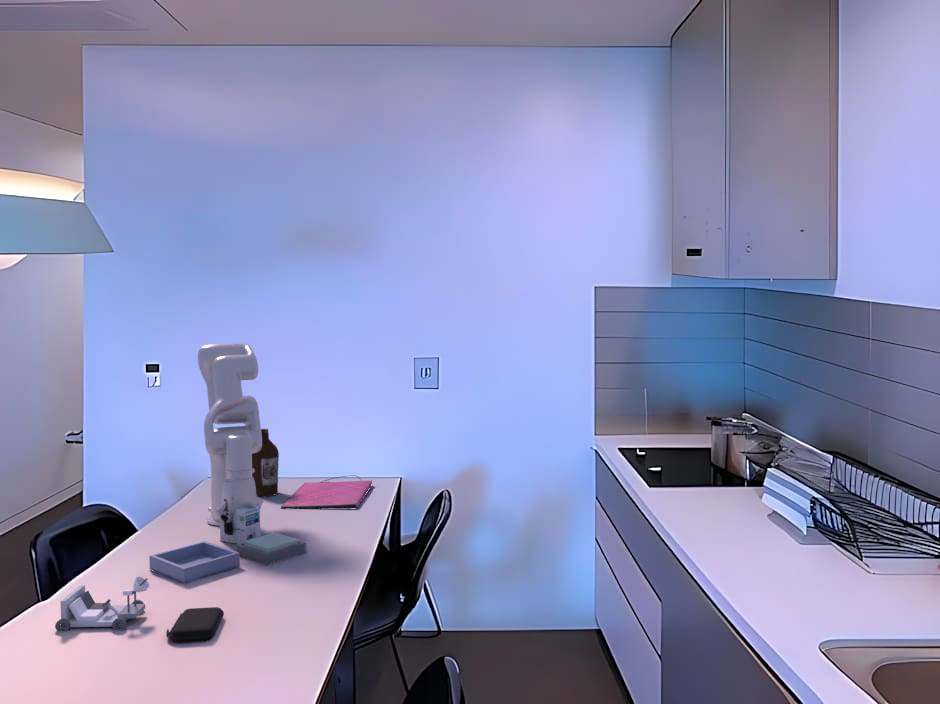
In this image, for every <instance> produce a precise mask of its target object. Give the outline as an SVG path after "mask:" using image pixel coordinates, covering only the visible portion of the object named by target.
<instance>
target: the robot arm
mask: <svg viewBox="0 0 940 704" xmlns="http://www.w3.org/2000/svg"><path fill="white" fill-rule="evenodd" d="M197 362H198V367H199V370H200V374H201V376H202V378H203V380H204V382H205V385H206V390H207V402H208V410H209V411H208V412H207V414H206V416H205V418H204V423H203V434H204V443H205V444H204V446H205V449H206V452H207V453H208V455H209V461H210V486H211V488H210V489H211V506H209V507H208V508H207V511H208V512H210V516H208V517H207V518H206V523H207V524H208V525H211V526H217V527H218V526H219V527H220V519H222V521H224V532H225V534H227V535H232V534H233V525H232V522H231V519H232V517H233V515H234V514H235V513H236V509H240V508H244V507H249V506H260V509H261V507H262V505H263V504H264V500H263V499H262V498H261V497H258V496H256V487H255V481H254V478H253V477H252V473H254V472H255V469H254V468H252V454H253V453H257V452H259V451H260V450H261V447H262V434H261V429H262V428H261V427H262V426H261V418H260V410H259V405H258V402H257V399H256V398H255V397H254V396H253V395H246V394H244V393H243V387H242V381H253V380H256V379H257V378H258V376H259V364H258V363H259V362H258V359H257V356H256V355H255V351H253V348H252V347H251V346H250V345H249V344H248V343H211V344H206V345H203V346H201V347H200V348H199V349H198V353H197ZM243 394H244V395H243ZM233 424H234V426H225V427H223V426H222V427H217V428H214V425H233ZM237 424H238V425H239V424H242V425H239V426H238V425H237ZM235 425H236V426H235ZM225 508H227V509H226V512H225V510H224V509H225ZM228 509H229V511H228ZM222 511H223V512H225V514H223V512H222ZM228 514H229V516H228Z"/></svg>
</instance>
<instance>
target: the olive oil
mask: <svg viewBox="0 0 940 704" xmlns="http://www.w3.org/2000/svg"><path fill="white" fill-rule="evenodd" d="M269 433H270V432H269V429H268V428H261V434H262V447H261V450H260V451H259V452H257V453H253V454H252V468H254V469H255V472H254V473H252V477H253V478H254V481H255V487H256V496H257V497H259V498H262V497H264V496H266V497H271V496H270V495H273V496H275V495H274V494H276V495H278V493H279V490H278V489H279V486H278V483H279V457H280V456H279V455H280V454H279V450H278V447H277V446H276V444H274V443H273V442H272V441H271V440H270V437H269V435H270V434H269ZM264 498H265V497H264Z"/></svg>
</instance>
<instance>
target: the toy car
mask: <svg viewBox="0 0 940 704" xmlns="http://www.w3.org/2000/svg"><path fill="white" fill-rule="evenodd" d="M148 580H149V579H148V578H147V577H146V578H144V577H142V576H136V577H135V580H134V581H133V582H134V583H133V588H132V589H124V590H122V596H123V597H124V596H126V597H127V604H124V605H123V604H112V605H111V601H112V600H111V599H109V598H108V599H107V600H106V601H105V602H95V600H94V598H93V596H92V595H91V593H90V591H89V590H86V584H80V585H79V586H77V588H75V589H74V590H72V591H71V592H69V594H68V595H67V596H65V597H64V598H63V599H61V600H60V619H58V620H57V621H56V622H55V625H54V627H55V630H56V632H68V631H69V629H70V628H89V627H91V628H92V627H95V628H99V627H101V628H102V627H104V628H105V627H106V628H107V627H112V629H113V631H124V630H125V629H126V628H127V626H128V625H127V621H128V620H129V619H136V618H137V617H138V616H139V615H140V614H141V613H142V612H143V611H144V610H146V604H145V603H144V601H142V600H140V599H137V593H142V592H145V591H148V590H149V589H150V588H151V586H150V583H149V582H148ZM133 595H134V596H133ZM130 596H133V599H134V600H133V601H132V602H131V603H130Z"/></svg>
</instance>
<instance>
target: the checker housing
mask: <svg viewBox="0 0 940 704" xmlns="http://www.w3.org/2000/svg"><path fill="white" fill-rule="evenodd" d="M298 543H299V544H295V545H292V546H289V547H285V548H282V549H279V550H275V551H272V552H269V553H266V552H262V551H259V550H256V549H253V548H250V547H247V546H244V543H241V544H235V545H236V546H235V547H236V548H235V549H236V552H239V553H240V557H241V556H242V557H241V558H245V559H247V558H248V559H247V560H250V561H253V562H257V563H259V564H262V565H265V566H268V565H271V563H272V564H275V563H278V562H281V561H284V560H287V559H290V558H289V557H291V558H294V557H297V556H300V555H303V554H306V553H307V543H306V542H305V541H302V540H299V539H298ZM305 552H306V553H305ZM299 554H300V555H299ZM296 555H297V556H296ZM293 556H294V557H293ZM280 560H281V561H280ZM277 561H278V562H277ZM274 562H275V563H274Z"/></svg>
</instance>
